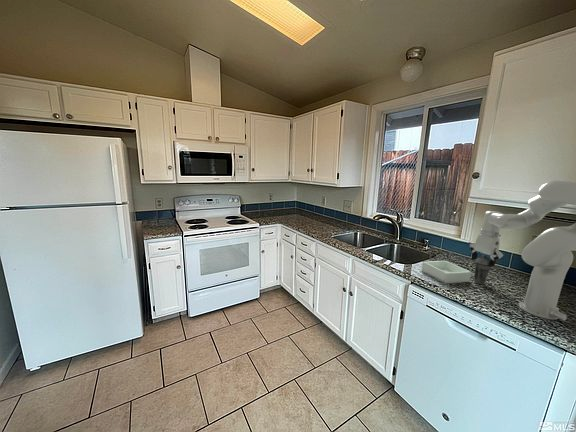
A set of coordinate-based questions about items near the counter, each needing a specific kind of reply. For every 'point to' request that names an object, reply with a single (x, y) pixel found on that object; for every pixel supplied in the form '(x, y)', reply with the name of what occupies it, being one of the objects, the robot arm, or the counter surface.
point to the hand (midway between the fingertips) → (482, 262)
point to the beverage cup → (481, 269)
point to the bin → (446, 272)
